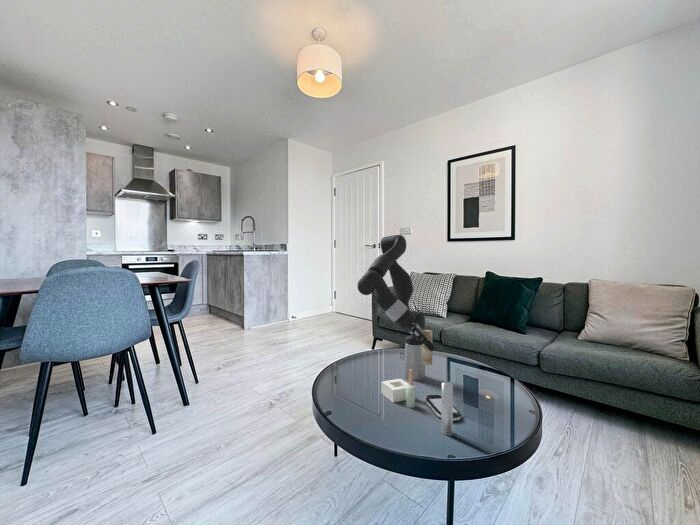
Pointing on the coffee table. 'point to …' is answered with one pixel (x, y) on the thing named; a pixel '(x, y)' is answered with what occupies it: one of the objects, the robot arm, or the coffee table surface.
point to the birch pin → (425, 351)
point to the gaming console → (436, 405)
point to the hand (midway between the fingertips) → (432, 347)
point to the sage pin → (410, 396)
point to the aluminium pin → (447, 408)
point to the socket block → (396, 388)
